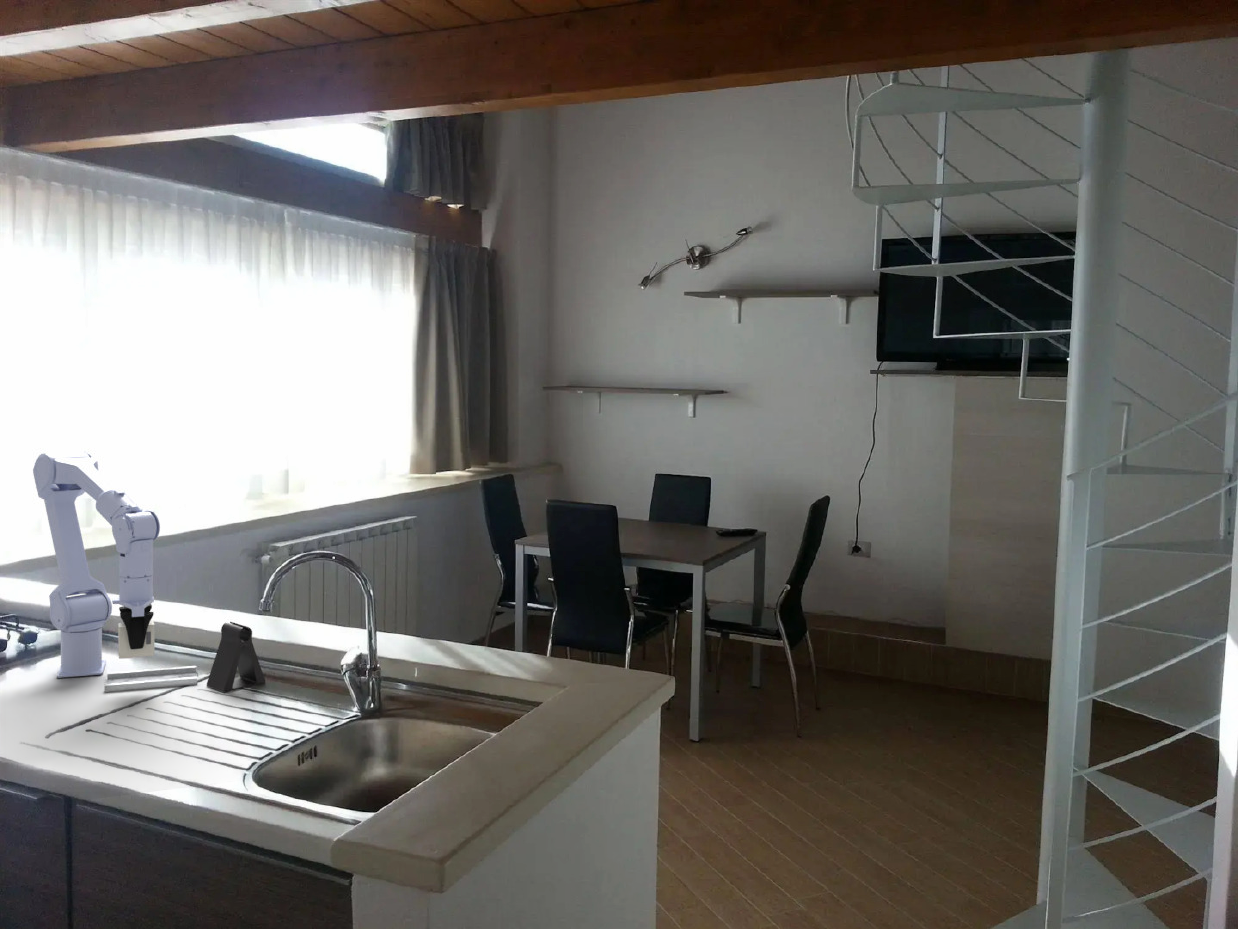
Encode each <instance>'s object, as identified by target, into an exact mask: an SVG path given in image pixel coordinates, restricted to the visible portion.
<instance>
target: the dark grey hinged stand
mask: <svg viewBox="0 0 1238 929" xmlns="http://www.w3.org/2000/svg"><path fill="white" fill-rule="evenodd" d="M220 634H221V636H220V638H221V639H220V641H219V645H218V648H217V651H216V654H215V657H214V659H213V663H212V667H211V668H210V669H211V670H210V672H209V675H208V679H207V682H206V687H208V688H210V689H213V690H215V691H219V692H221V693H224V694H226V693H230V692H235V691H238V690H243V689H245V688H251V687H254V686H255V687H256V686H258V685H263V684H265V683H266V679H265V675H264V673H263V670H262V667H261V664H260V661H259V659H258V655H257V652H256V650H255V646H254V644H253V638H252V637H253V630H252V628H250V627H249V626H246V625H242V624H239V623H236V622H233V621H230V622H229V623H228V622H224V623H223V624H222V626H221V628H220ZM237 669H238V673H239V676H238V677H236V674H237Z"/></svg>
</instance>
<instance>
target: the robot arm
mask: <svg viewBox="0 0 1238 929" xmlns="http://www.w3.org/2000/svg"><path fill="white" fill-rule="evenodd" d="M32 473H33V474H32V475H33V479H34V483H35V484H34V485H35V488H36V491H37V495H38V496H37V497H38V498H39V499H42V500H43V501H44V506H45V511H46V516H47V521H48V525H49V530H50V534H51V539H52V544H53V548H54V553H55V558H56V563H57V568H58V572H59V576H60V583H59V584H58V585H57V586H56V587H55V588H54V590H52V592H50V594H49V596H48V597H49V619H50V622H51V624H52V625H53V627H55V628H56V629H57V630H58V631H60V667H59V668H58V672H57V674H56V678H59V679H60V678H70V677H71V678H75V677H86V676H87V677H88V676H98V675H99V676H101V675H103V674H104V671H105V667H106V662H107V661H106V659H103V654H102V652H103V651H102V650H103V647H102V646H103V644H102V643H103V642H102V641H103V638H102V636H103V631H102V628H103V627H105V626H106V622H108V620H110V617H111V615H112V612H113V605H120V606H119V608H118V609H119V617H120V619H121V621H122V623H124V624H125V627H126V630H127V634H128V640H129V645H130V648H131V649H142V648H143V646H144V642H145V637H146V632H147V628H148V625H149V623H150V621H152V619H153V617H154V614H155V613H154V611H151V610H152V608H153V605H152V603H154V602H155V596H154V582H153V581H154V541H155V540H157V539H158V537H159V535H160V531H161V530H160V529H161V526H160V525H161V524H160V519H159V517H158V515H157V514H156V513H155V512H154V511H153V510H149V509H141V508H140V507H139V506H138V505H137V503H135V502H134V501H133V500H132V499H131V498H130V497H129V495H127V494H126V493H125V491H124V490H123V489H118V488H112V487H111V485H109V483H108V482H107V481H106V479H105V478H104V477H103V475H102V474H101V473H100V472H99V463H98V459H97V458H96V457H94V455H93V454H92V453H91V452H89V451H83V452H73V453H72V452H71V453H70V452H67V453H40V454H39V455H38V457H37V458H36V460H35V462H34V465H33V469H32ZM85 493H86V494H87V495H89V496H90V497H91V498H92V499H93V500H95V509H96V511H97V512H98V514H100V515H101V517H102V518H104V519H105V520H106V522H108V524H109V525H111V532H112V535H113V538H114V541H115V549H116V552H117V553H119V554H118V559H119V560H118V561H119V562H118V564H119V565H118V566H119V568H118V569H119V570H118V572H119V576H118V577H119V578H118V579H119V580H118V583H119V585H118V586H119V587H118V588H119V590H118V592H119V593H118V594H119V596H118V597H115V598H112V601H111V598H110V596H109V595H108V593H107V590H106V587H105V584H104V583H103V582H101V581H99V580H97V579H95V578H94V577H92V576H91V573H90V568H89V565H88V560H87V556H86V551H85V546H84V542H83V537H82V536H83V535H82V533H81V532H82V531H81V527H80V523H79V517H78V513H77V508H76V500H77V498H78V497H81V496H83V495H84V494H85Z"/></svg>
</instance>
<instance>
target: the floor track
mask: <svg viewBox="0 0 1238 929" xmlns="http://www.w3.org/2000/svg"><path fill="white" fill-rule="evenodd" d="M106 676H107V677H106V683H104V692H105V693H108V692H120V691H131V690H132V691H134V690H143V689H144V690H145V689H158V688H168V687H178V686H179V687H180V686H181V687H182V686H191V685H193V686H194V685H198V675H197V665H190V666H189V665H188V666H187V665H185V666H176V667H175V666H174V667H162V668H151V669H150V668H149V669H136V670H122V671H110V672H109V671H108V672H107V673H106Z"/></svg>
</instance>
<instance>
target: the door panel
mask: <svg viewBox="0 0 1238 929" xmlns="http://www.w3.org/2000/svg"><path fill="white" fill-rule="evenodd" d="M154 622H155V621H154V620H151V621H150V623H149V625H148V628H147V632H146V637H145V642H144V646H143V648H142V649H131V648H130V645H129V640H128V634H127V630H126V627H125V624H124V622H118V624H117V627H118V630H117V631H118V632H117V634H118V646H117V647H118V654H117V655H118V659H120V660H121V659H129V658H130V659H131V658H143V657H154V656H155V623H154Z"/></svg>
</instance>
